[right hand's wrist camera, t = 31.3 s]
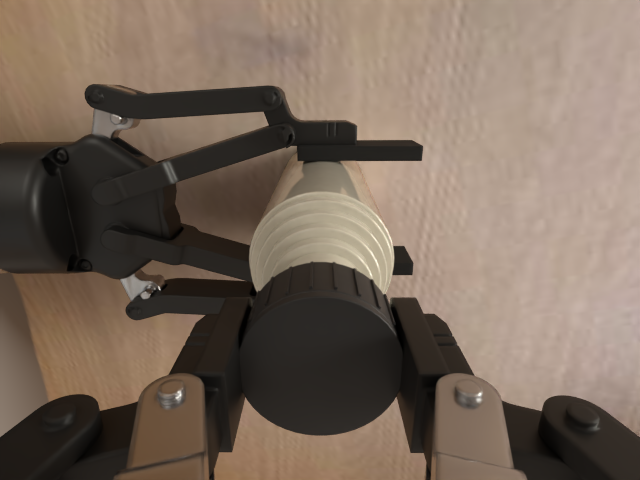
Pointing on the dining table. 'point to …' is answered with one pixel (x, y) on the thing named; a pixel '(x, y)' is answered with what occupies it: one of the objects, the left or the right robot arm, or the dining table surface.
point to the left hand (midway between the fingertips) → (411, 207)
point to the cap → (320, 350)
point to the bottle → (321, 224)
